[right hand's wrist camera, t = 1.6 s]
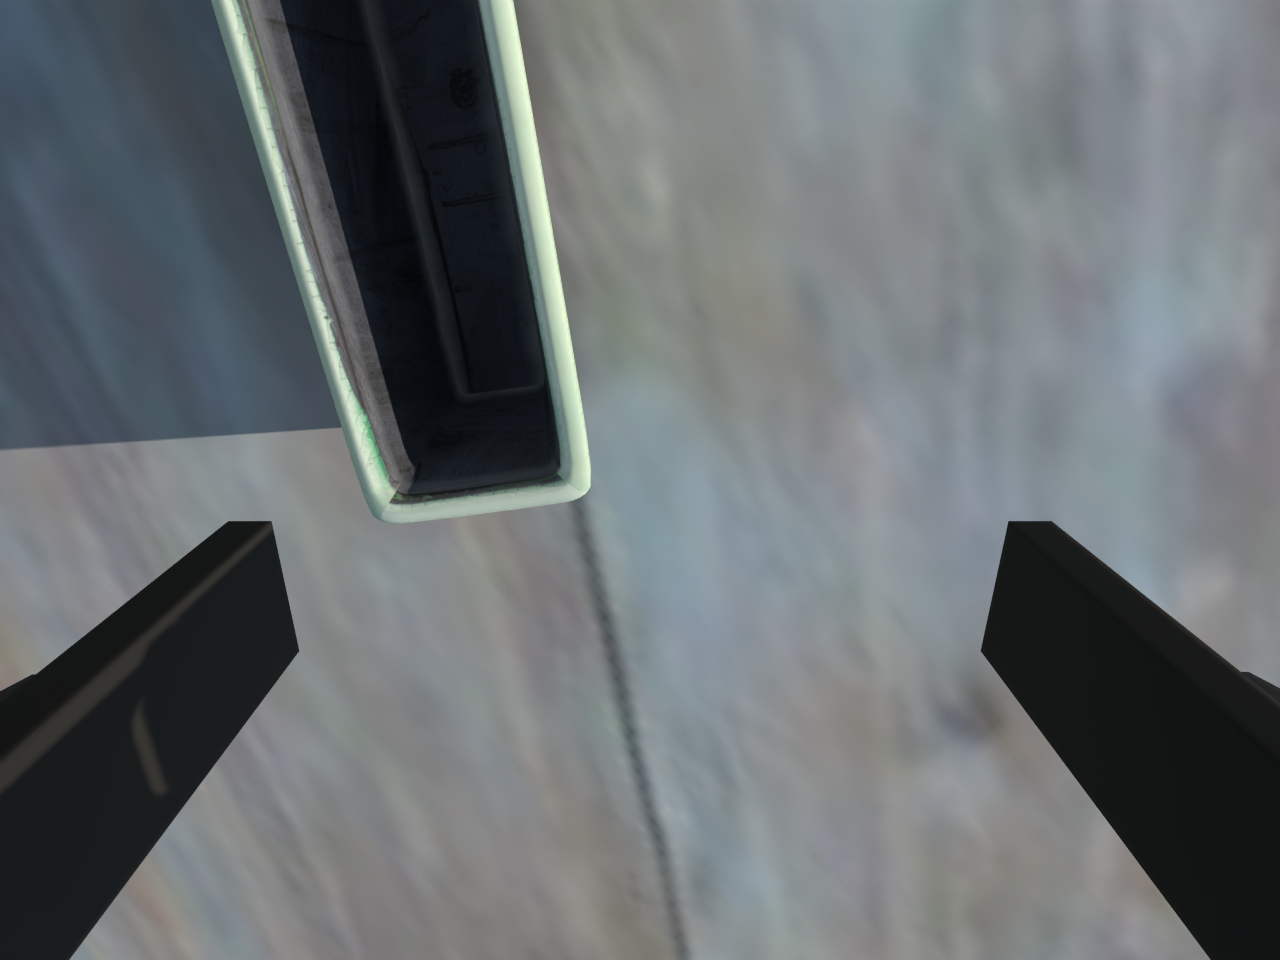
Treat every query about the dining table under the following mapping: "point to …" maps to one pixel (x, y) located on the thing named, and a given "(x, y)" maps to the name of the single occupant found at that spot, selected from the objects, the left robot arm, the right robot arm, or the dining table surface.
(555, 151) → the dining table surface
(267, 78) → the planter
